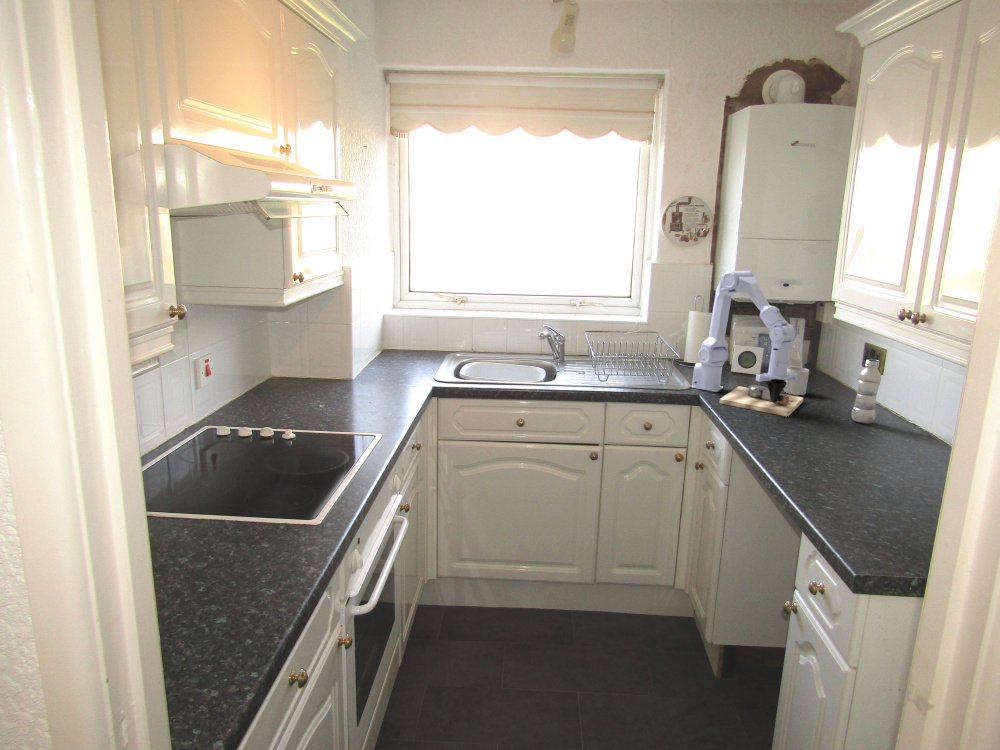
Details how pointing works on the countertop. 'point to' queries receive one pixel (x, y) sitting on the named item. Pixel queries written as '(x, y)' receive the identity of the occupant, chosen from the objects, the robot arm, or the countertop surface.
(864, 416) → the plastic bottle
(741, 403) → the lock board
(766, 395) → the lever
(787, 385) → the cup
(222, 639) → the countertop surface
